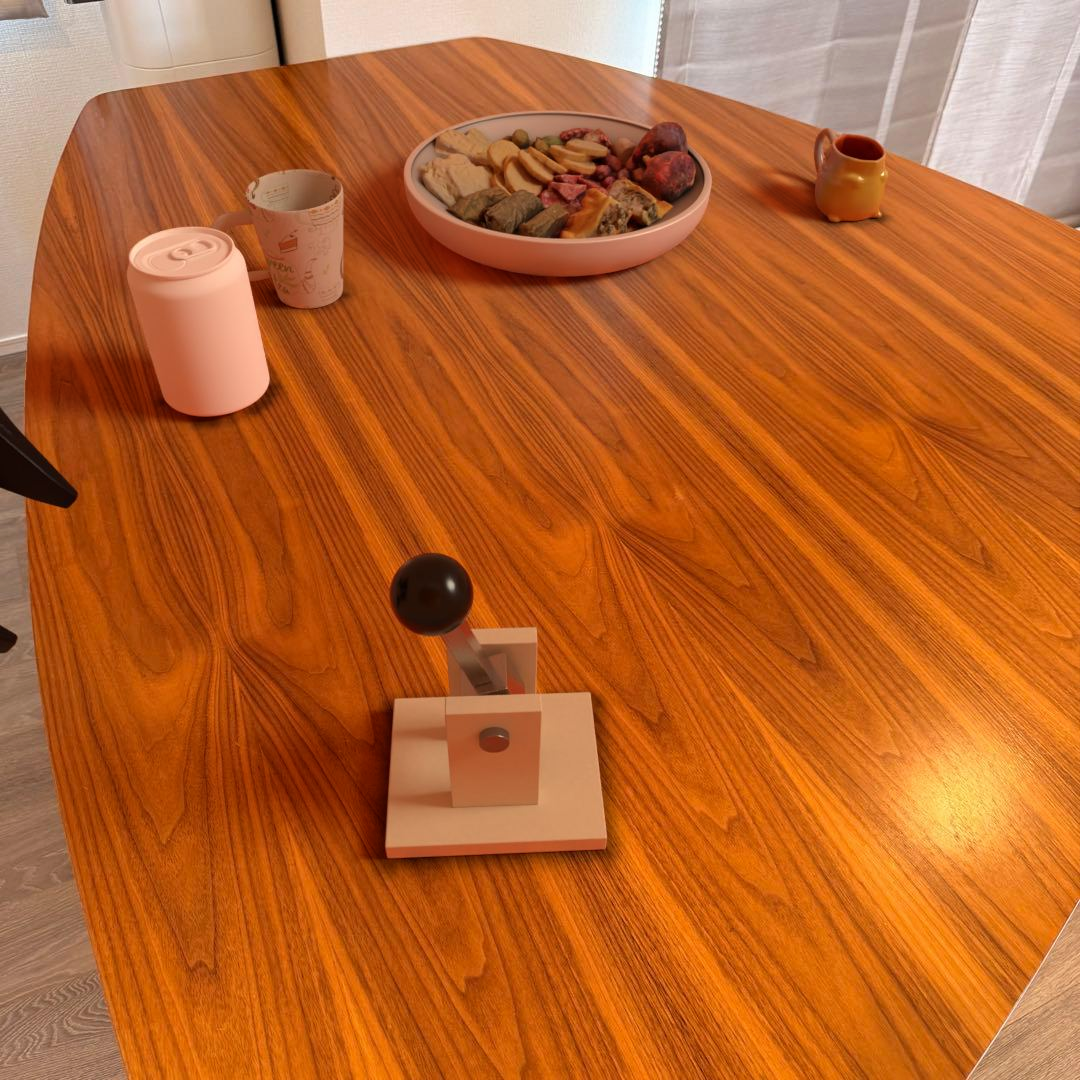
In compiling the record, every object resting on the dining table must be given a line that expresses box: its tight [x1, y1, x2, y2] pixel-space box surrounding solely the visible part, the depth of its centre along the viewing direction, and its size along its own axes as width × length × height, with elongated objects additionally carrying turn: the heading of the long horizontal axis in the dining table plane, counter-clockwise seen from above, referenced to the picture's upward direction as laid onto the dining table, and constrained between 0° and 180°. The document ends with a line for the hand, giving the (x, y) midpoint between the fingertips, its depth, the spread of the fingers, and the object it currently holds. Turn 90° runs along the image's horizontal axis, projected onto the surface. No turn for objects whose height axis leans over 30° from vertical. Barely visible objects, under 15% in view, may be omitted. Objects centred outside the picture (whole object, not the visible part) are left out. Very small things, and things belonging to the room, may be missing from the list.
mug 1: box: [209, 168, 344, 310], centre depth 83 cm, size 8×12×10 cm, turn 105°
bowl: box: [403, 109, 713, 278], centre depth 96 cm, size 30×30×8 cm
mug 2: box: [813, 127, 889, 223], centre depth 100 cm, size 12×7×7 cm, turn 10°
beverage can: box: [126, 226, 271, 417], centre depth 72 cm, size 8×8×12 cm
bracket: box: [384, 626, 608, 859], centre depth 49 cm, size 11×9×9 cm
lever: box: [388, 552, 525, 696], centre depth 44 cm, size 11×4×4 cm
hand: (45, 568), depth 45 cm, fingers open, 9 cm apart
